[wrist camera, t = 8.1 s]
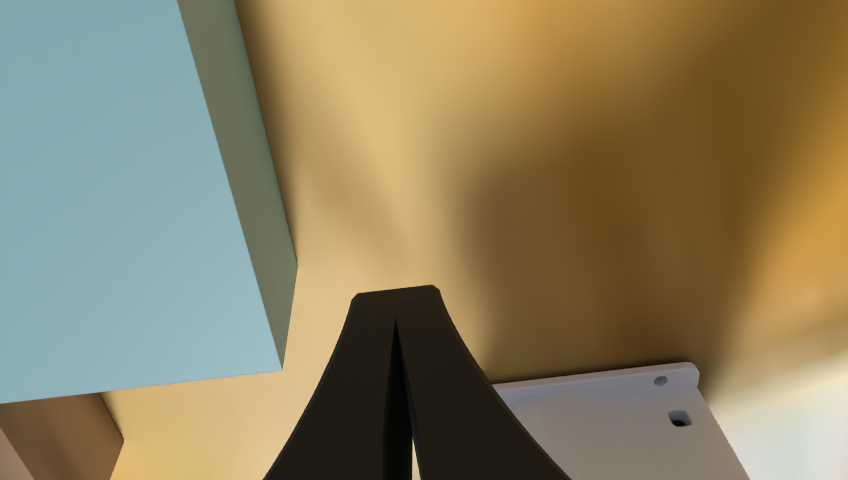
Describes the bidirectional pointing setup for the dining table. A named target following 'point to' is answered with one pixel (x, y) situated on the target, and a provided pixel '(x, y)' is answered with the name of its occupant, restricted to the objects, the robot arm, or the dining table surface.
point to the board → (58, 439)
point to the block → (135, 200)
